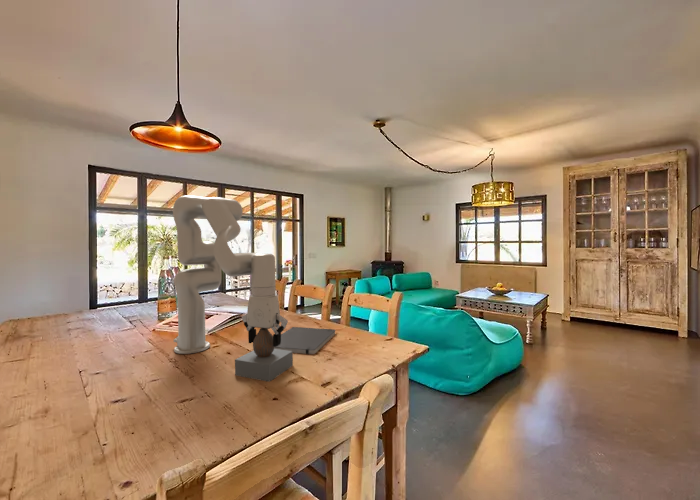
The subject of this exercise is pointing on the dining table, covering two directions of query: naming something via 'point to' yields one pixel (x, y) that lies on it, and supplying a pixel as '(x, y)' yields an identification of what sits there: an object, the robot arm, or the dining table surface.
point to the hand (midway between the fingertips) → (264, 343)
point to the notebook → (305, 339)
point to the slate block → (264, 365)
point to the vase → (263, 343)
